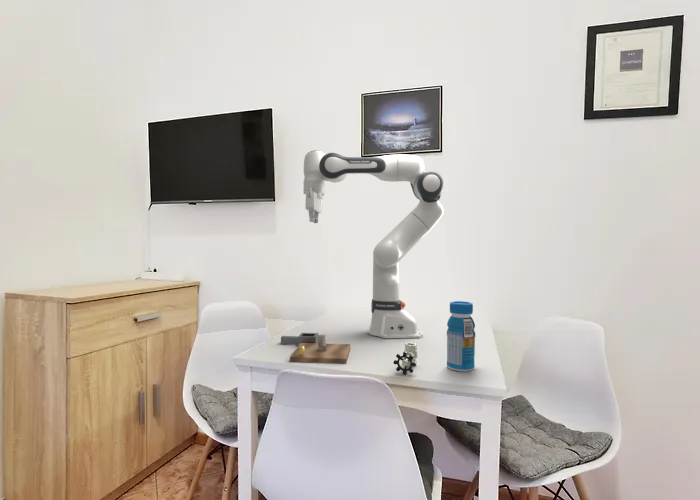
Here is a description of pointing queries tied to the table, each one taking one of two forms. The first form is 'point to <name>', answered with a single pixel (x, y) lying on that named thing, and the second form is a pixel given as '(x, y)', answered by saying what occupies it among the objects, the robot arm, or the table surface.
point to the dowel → (301, 350)
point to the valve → (407, 358)
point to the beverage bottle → (460, 337)
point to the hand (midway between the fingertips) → (313, 222)
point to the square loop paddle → (300, 339)
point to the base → (322, 352)
